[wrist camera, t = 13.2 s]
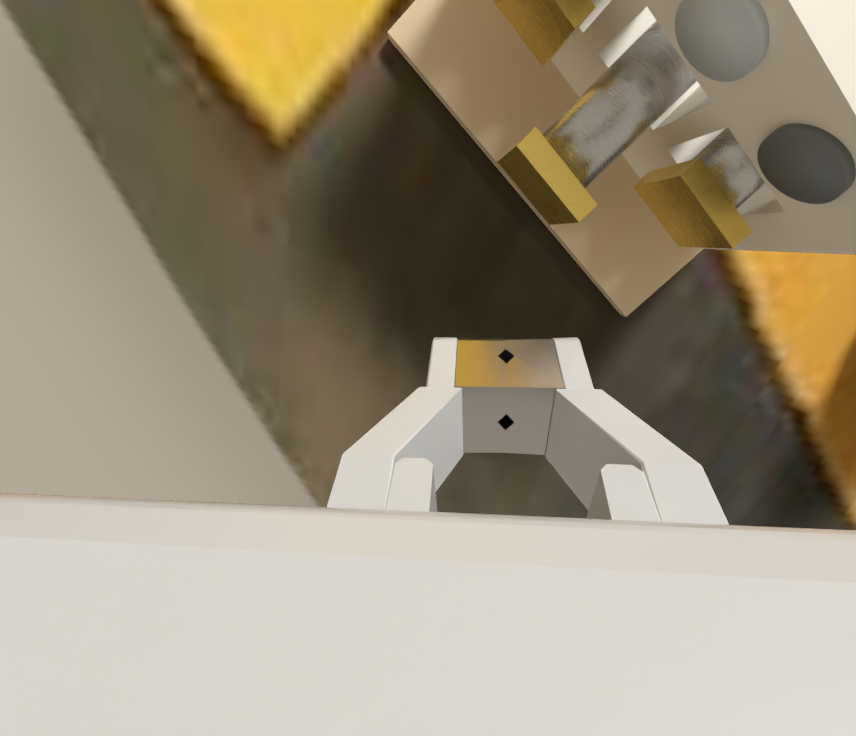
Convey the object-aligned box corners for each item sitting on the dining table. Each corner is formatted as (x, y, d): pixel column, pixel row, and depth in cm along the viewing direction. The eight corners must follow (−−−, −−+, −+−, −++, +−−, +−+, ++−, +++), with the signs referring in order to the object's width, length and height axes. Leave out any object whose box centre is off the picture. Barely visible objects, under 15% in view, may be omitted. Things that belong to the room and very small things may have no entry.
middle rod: (549, 224, 23) (579, 222, 19) (496, 161, 22) (516, 145, 18) (721, 59, 21) (792, 20, 17) (672, -17, 20) (736, -77, 16)
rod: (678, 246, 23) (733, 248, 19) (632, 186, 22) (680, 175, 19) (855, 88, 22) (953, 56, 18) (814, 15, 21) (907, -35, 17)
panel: (620, 315, 29) (804, 380, 16) (387, 38, 24) (368, -207, 11) (762, 188, 28) (1103, 142, 14) (542, -137, 23) (746, -681, 9)
